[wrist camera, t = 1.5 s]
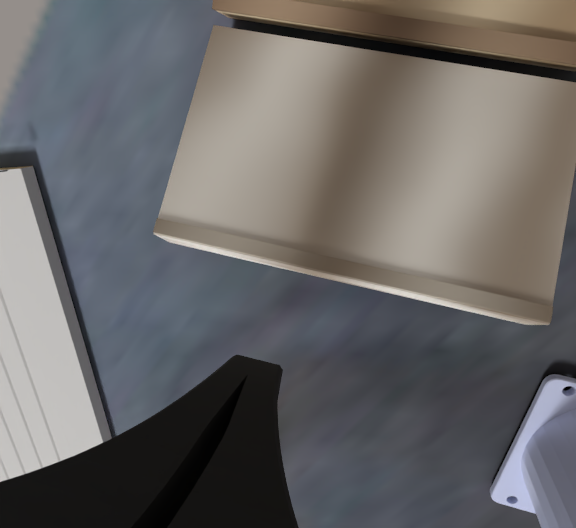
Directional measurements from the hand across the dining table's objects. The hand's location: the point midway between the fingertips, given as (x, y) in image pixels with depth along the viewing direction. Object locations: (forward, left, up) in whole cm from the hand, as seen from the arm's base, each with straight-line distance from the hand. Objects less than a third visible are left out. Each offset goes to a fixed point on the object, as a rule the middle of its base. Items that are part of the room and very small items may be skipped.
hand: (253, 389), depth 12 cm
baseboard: (+16, +14, -10) cm, 24 cm away
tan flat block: (-2, -5, -7) cm, 9 cm away
